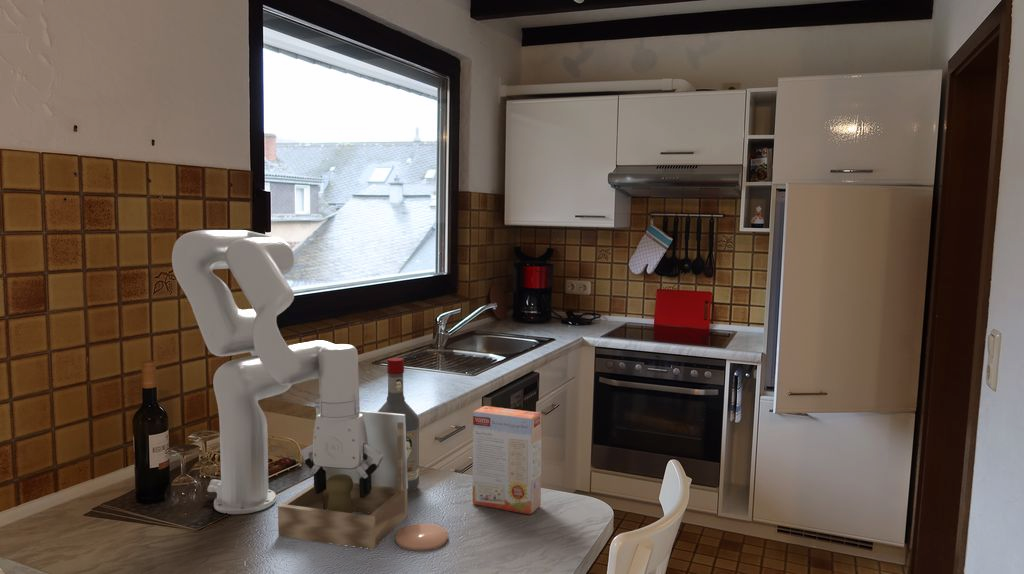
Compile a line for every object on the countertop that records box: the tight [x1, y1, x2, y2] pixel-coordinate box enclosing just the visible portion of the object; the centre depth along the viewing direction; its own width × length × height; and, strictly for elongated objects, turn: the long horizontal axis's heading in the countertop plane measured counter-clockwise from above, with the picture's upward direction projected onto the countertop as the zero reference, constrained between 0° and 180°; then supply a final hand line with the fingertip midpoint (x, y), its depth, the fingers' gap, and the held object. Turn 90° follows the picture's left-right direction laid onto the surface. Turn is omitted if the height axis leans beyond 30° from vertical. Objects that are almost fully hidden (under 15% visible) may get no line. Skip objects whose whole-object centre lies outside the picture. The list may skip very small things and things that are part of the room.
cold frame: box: [277, 408, 408, 550], centre depth 145 cm, size 20×16×22 cm
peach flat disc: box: [395, 522, 449, 552], centre depth 141 cm, size 10×10×1 cm
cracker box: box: [472, 405, 543, 515], centre depth 157 cm, size 14×6×21 cm, turn 65°
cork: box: [326, 474, 354, 514], centre depth 144 cm, size 6×6×11 cm
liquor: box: [377, 357, 420, 494], centre depth 166 cm, size 9×9×30 cm
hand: (342, 493), depth 143 cm, fingers open, 9 cm apart
